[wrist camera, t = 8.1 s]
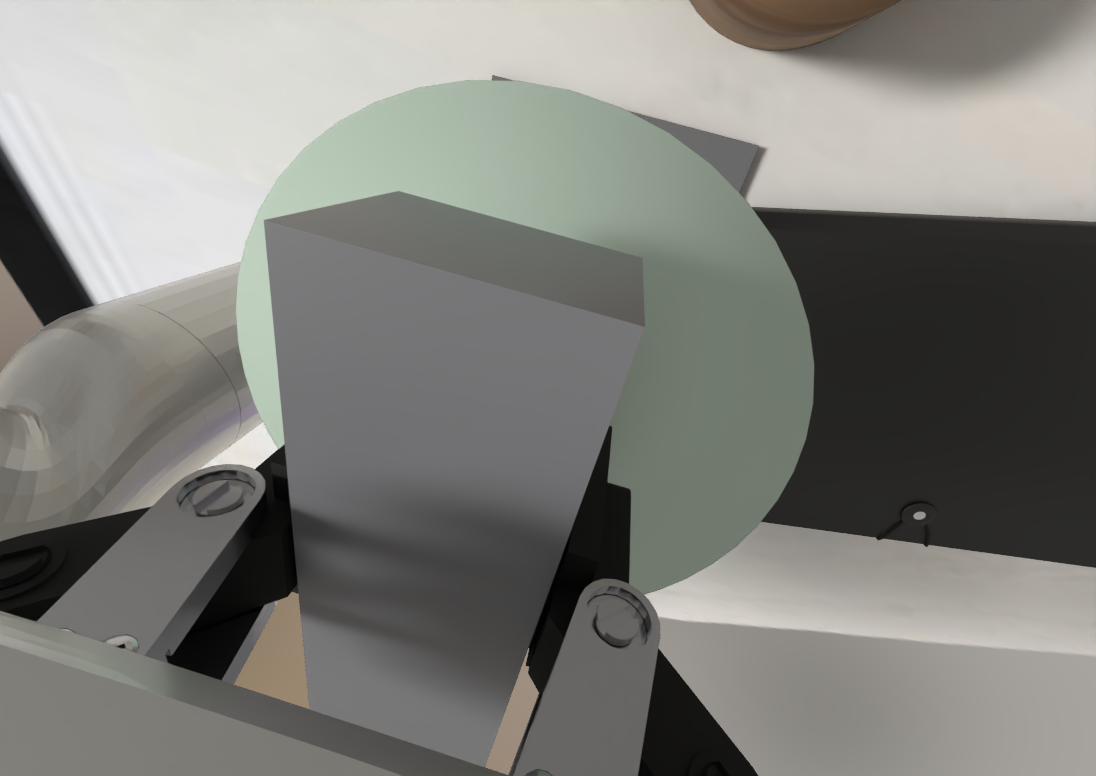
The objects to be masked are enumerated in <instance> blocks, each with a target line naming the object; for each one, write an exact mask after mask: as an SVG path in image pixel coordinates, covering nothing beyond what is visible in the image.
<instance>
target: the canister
mask: <svg viewBox="0 0 1096 776" xmlns="http://www.w3.org/2000/svg"><path fill="white" fill-rule="evenodd" d="M689 1H690V2H691V4H692V5H693V7H694V8H695V10H696V11H697V12H698V14H699V15H700V16H701V17H702V18H703V19H704V20H705V21H706V22H707V23H708V24H709V25H710V26H711V27H712V28H714V29H715V30H716V31H717V32H719V33H720V34H721V35H723V36H725V37H727V38H728V39H730V40H732V41H734V42H736V43H739V44H742V45H745V46H747V47H751V48H757V49H762V50H789V49H796V48H802V47H806V46H809V45H813V44H816V43H819V42H822V41H824V40H827V39H829V38H831V37H834V36H836V35H838V34H840V33H842V32H844V31H846V30H847V29H849V28H851V27H853V26H855V25H857V24H858V23H860V22H862V21H864V20H866V19H868V18H870V17H871V16H873V15H875V14H877V13H879V12H881V11H883V10H884V9H886V8H888V7H890V6H892V5H894V4H896V3H897V2H899V1H901V0H689Z"/></svg>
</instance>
